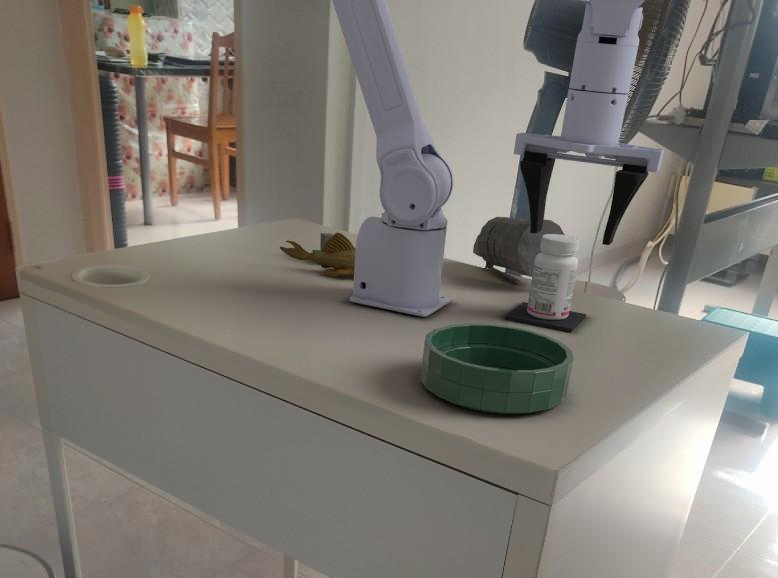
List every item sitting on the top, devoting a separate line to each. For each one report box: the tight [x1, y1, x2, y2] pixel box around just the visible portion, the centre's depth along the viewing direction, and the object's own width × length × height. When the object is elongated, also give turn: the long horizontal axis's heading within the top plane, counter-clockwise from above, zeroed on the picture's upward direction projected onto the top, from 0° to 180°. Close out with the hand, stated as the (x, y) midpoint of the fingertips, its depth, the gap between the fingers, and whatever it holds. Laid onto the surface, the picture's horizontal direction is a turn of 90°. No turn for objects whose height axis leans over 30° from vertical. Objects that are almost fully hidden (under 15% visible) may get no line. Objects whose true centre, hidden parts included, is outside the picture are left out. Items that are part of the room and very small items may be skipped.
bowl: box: [420, 322, 575, 415], centre depth 73 cm, size 13×13×4 cm
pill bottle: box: [527, 234, 580, 320], centre depth 93 cm, size 5×5×8 cm
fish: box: [279, 232, 356, 278], centre depth 104 cm, size 5×14×5 cm, turn 77°
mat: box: [504, 301, 587, 333], centre depth 95 cm, size 8×7×1 cm
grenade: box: [472, 216, 566, 285], centre depth 109 cm, size 8×8×15 cm
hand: (571, 237), depth 88 cm, fingers open, 7 cm apart
